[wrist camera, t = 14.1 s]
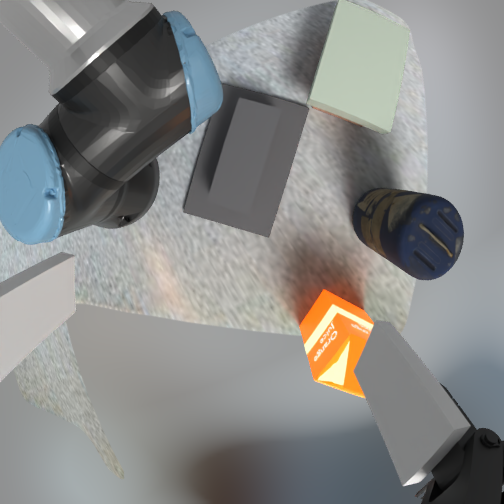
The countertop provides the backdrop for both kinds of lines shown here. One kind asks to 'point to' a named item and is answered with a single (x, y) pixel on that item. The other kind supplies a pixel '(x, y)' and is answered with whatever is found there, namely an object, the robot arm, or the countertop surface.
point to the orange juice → (335, 341)
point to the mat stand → (246, 160)
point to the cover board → (361, 67)
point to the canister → (410, 230)
